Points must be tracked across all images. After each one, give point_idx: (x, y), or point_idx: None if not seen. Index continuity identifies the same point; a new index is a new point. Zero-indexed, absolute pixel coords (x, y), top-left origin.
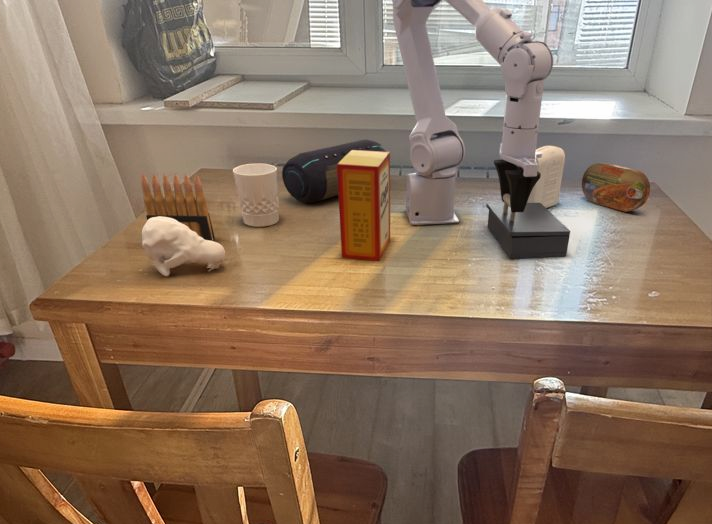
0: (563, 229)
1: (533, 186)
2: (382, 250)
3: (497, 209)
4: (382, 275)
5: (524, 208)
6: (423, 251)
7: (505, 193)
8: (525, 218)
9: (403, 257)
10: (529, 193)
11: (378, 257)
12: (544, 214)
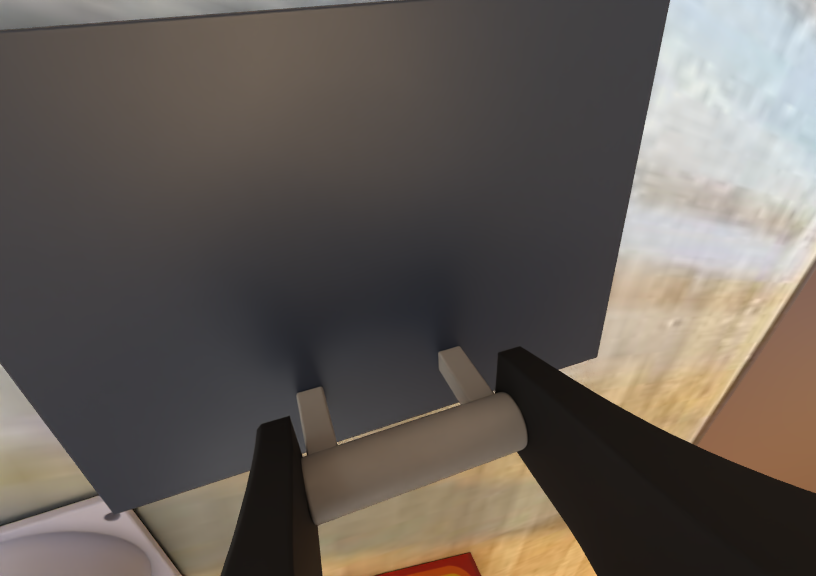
0: (633, 32)
1: (761, 476)
2: (443, 572)
3: (252, 442)
4: (539, 523)
5: (539, 358)
6: (423, 503)
7: (312, 526)
8: (413, 281)
9: (456, 525)
10: (663, 435)
11: (473, 562)
12: (295, 109)
